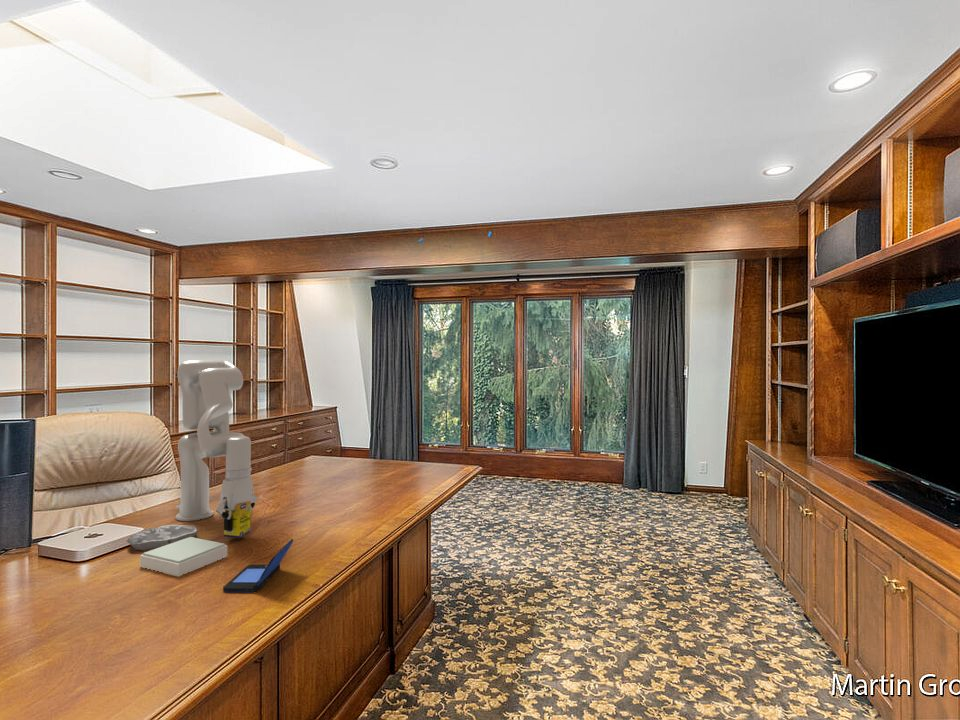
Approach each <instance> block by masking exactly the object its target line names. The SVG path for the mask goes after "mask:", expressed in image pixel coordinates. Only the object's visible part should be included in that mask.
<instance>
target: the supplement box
mask: <svg viewBox="0 0 960 720" xmlns="http://www.w3.org/2000/svg"><path fill="white" fill-rule="evenodd" d="M225 507H226V506H225ZM225 507H224V509H223V511H224V510H225ZM228 513H229V511H228ZM228 513H227V514H228ZM251 515H252V512H251V501H248V502H245V503H242V504H238V505H237V506H236V509H235V510H234V511H233V514H232V516H231V519H233V528H232V531H226V530H224V529H223V537H225V538H234V539H240V538H242V537H244V536H246V535H247V534H250V533H251V524H250V519H252V518H251V517H252V516H251Z"/></svg>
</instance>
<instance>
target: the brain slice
mask: <svg viewBox="0 0 960 720" xmlns="http://www.w3.org/2000/svg"><path fill="white" fill-rule="evenodd" d="M140 531H141V532H140ZM140 531H138V532H139V533H137V532H135V533H136V534H135V533H134V534H133V535H131V536H130V537H129V538H127V543H129V545H130V546H131V547H132V548H133V549H134V550H136V551H142V550H143V551H148V550H147V549H149V550H154V549H155V548H159V547H162V546H165V545H168V544H171V543H174V542H177V541H180V540H183V539H186V538H188V537H194V538H195V536H196V535H197V534H198V528H197V527H196V526H195V525H187V524H167V525H166V524H165V525H160V526H157V528H156V527H151V528H150V527H149V528H145V529H142V530H140Z"/></svg>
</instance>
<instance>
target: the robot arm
mask: <svg viewBox="0 0 960 720" xmlns="http://www.w3.org/2000/svg"><path fill="white" fill-rule="evenodd" d="M176 376H177V380H178V385H179V386H180V391H181V394H182V400H181V401H182V404H181V405H182V424H183V427H184V428H185V429H186V430H189V431H196V433H189V434H184V435H183V436H181V437H180V438H179V440H178V441H177V451H178V457H179V463H180V503H179V505H176V506H175V510H179V512H178V513H177V514H176V515H175V519H176V521H180V522H193V521H199V520H200V519H201V520H204V519H207V518H210V517H212V516H213V515H214V510H213V509H210V470H209V469H210V468H209V466H208V465H207V464H206V462H204V460H203V458H218V457H225V478H224V479H223V480H222V484H221V489H220V498H219V504H218V506H217V508H216V509H215V512H217V514H219V516H220V517H221V518H222V519H223V531H224V530H226V531H232V528H233V519H231V516H232V514H233V511H234V510H235V509H236V506H237V505H238V504H242V503H245V502H248V501H251V513H253V509H254V507H255V505H256V503H257V502H258V499H259V497H258V496H256V495H255V494H254V484H253V478H252V475H251V471H252V470H253V468H252V467H251V464H252V463H251V458H252V455H251V454H252V447H251V446H252V441H251V438H250V437H249V436H248V435H244V434H243V433H242V432H230V415H229V414H230V413H229V411H230V410H232V408H233V401H232V397H231V393H230V391H231V392H232V391H238V390H241V389H242V387H243V384H244V377H243V373H242V372H241V370H240V369H239V368H238V367H237V366H236V365H234V364H233V363H231V362H229V361H228V360H219V359H217V360H216V359H215V360H212V359H211V360H209V359H207V360H205V359H200V360H199V359H194V360H193V359H192V360H186V361H183V362H181V363H180V364H179V366H178V368H177V375H176ZM210 429H213V431H210ZM225 506H226V507H225ZM224 507H225V510H224ZM228 511H229V513H228ZM227 513H228V514H227ZM251 519H252V518H251ZM251 519H250V525H251V521H252V520H251Z"/></svg>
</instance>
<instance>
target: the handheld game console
mask: <svg viewBox="0 0 960 720" xmlns="http://www.w3.org/2000/svg"><path fill="white" fill-rule="evenodd" d="M293 543H294V539H293V538H292V539H290V540H289V541H288V542H287V543H286V544H285V545H284V546H283V547H282V548H281V549H280V550H279V551H278V552H277V553H276V554H275V555H273V557H272V558H271V559H270V561H269V562H268V563H267V564H266V563H265V564H261V563H259V564H258V563H257V564H248V565H246V566H245V567H244V568H243V569H242V570H241V571H240V572H238V573H237V574H236V575H235V576H234V577H233V578H232V579H230V581H228V582H227V583H226V584H225V585H224V586H223V587H222V591H223V592H224V593H239V592H241V593H254V592H257V591H258V590H259V589H262V587H263V586H265V584H266V583H267V581H268V580H269V579H268V578H270V577H271V578H272V577H273V576H274V575H275V574H276V573H277V572H278V571H280V569H281V562H282V561H283V559H284V557H285V555H286V554H287V553H288V551H289V549H290V548H291V546H292V544H293ZM271 578H270V579H271ZM267 579H268V580H267ZM259 591H260V590H259ZM259 591H258V592H259ZM258 592H257V593H258Z"/></svg>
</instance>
